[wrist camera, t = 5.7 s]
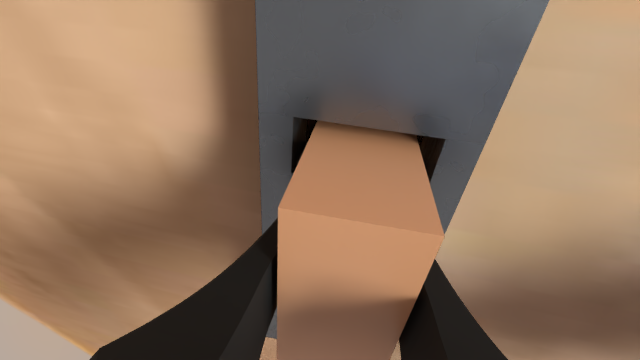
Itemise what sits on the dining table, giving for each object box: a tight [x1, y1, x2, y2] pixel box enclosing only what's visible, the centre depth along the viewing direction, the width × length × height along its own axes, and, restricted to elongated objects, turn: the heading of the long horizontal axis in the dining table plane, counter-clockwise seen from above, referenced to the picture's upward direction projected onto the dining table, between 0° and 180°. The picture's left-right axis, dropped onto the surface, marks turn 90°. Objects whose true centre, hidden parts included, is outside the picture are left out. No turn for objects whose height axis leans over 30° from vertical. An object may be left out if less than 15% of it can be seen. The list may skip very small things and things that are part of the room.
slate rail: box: [255, 0, 549, 339], centre depth 14 cm, size 22×8×3 cm, turn 175°
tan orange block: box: [277, 120, 445, 360], centre depth 12 cm, size 8×4×7 cm, turn 175°
